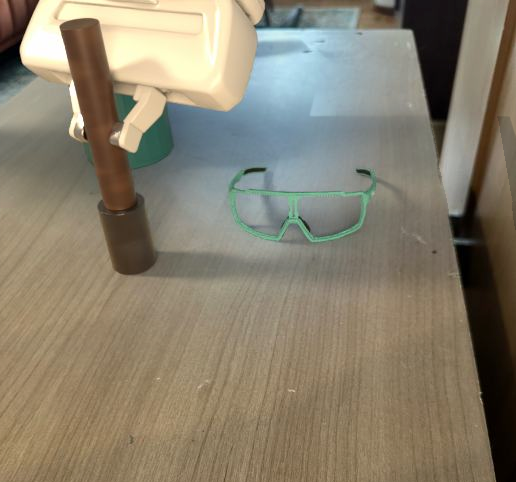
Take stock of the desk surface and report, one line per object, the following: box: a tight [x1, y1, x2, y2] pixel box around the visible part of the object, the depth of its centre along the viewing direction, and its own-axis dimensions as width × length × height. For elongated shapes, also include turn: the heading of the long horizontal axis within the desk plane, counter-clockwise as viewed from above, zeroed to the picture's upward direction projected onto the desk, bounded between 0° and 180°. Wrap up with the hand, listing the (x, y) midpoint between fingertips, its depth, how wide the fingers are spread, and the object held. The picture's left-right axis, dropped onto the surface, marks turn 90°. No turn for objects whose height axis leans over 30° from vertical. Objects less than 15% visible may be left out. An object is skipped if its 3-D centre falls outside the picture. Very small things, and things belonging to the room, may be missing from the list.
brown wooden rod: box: [59, 18, 157, 275], centre depth 52 cm, size 4×4×20 cm
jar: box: [68, 85, 174, 170], centre depth 73 cm, size 10×10×11 cm
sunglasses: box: [228, 166, 377, 243], centre depth 63 cm, size 14×15×5 cm
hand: (101, 144), depth 50 cm, fingers closed on brown wooden rod, 3 cm apart
